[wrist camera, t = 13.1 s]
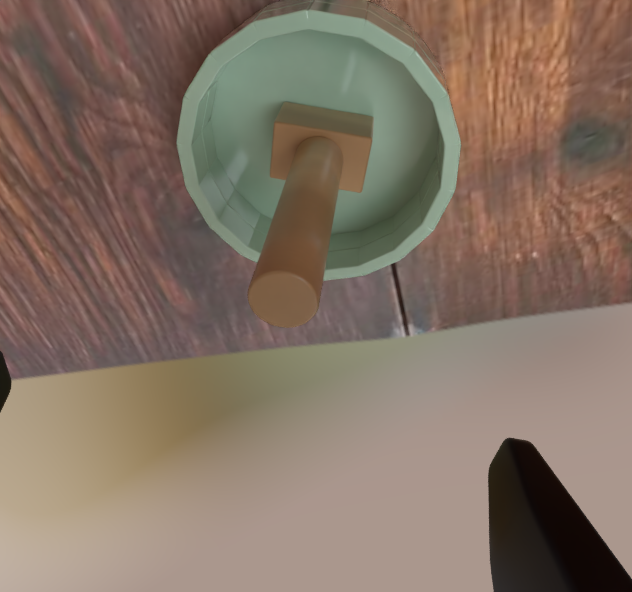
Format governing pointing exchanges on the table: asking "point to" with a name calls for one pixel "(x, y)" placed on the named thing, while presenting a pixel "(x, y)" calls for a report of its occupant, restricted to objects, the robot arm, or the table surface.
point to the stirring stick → (306, 206)
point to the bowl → (331, 93)
